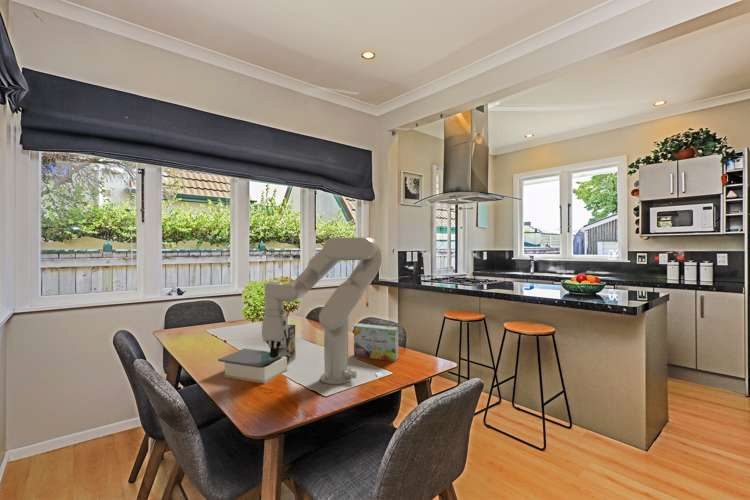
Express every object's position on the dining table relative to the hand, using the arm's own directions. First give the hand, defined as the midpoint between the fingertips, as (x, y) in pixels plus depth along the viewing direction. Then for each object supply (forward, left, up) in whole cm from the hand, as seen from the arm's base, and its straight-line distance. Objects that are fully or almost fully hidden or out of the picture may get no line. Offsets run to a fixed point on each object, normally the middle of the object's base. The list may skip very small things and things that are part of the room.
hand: (274, 356), depth 155 cm
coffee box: (+7, -18, -9) cm, 21 cm away
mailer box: (+9, 0, -8) cm, 12 cm away
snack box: (-30, -38, -9) cm, 49 cm away
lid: (+12, 0, -2) cm, 12 cm away
